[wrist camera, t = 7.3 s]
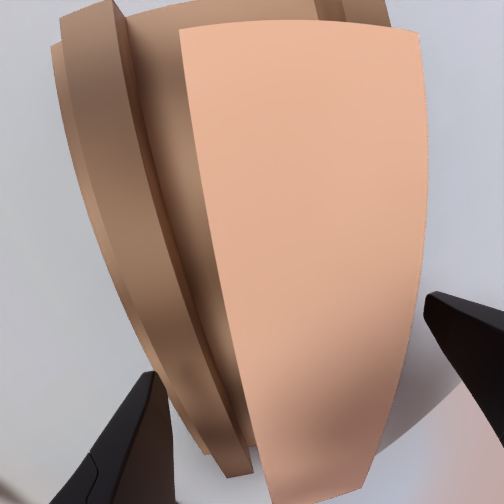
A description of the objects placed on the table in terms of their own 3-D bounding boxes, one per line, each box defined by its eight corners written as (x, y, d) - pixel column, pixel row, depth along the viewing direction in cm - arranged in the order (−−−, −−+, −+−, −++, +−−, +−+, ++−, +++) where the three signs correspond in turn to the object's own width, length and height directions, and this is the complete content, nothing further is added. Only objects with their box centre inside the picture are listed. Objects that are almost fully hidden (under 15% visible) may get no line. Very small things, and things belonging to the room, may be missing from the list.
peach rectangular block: (322, 400, 16) (361, 487, 11) (251, 417, 16) (274, 513, 10) (307, 67, 9) (417, 32, 4) (187, 79, 9) (178, 29, 4)
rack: (379, 392, 19) (399, 424, 16) (203, 442, 18) (207, 481, 15) (365, 2, 9) (406, -19, 7) (60, 50, 8) (24, 35, 6)
